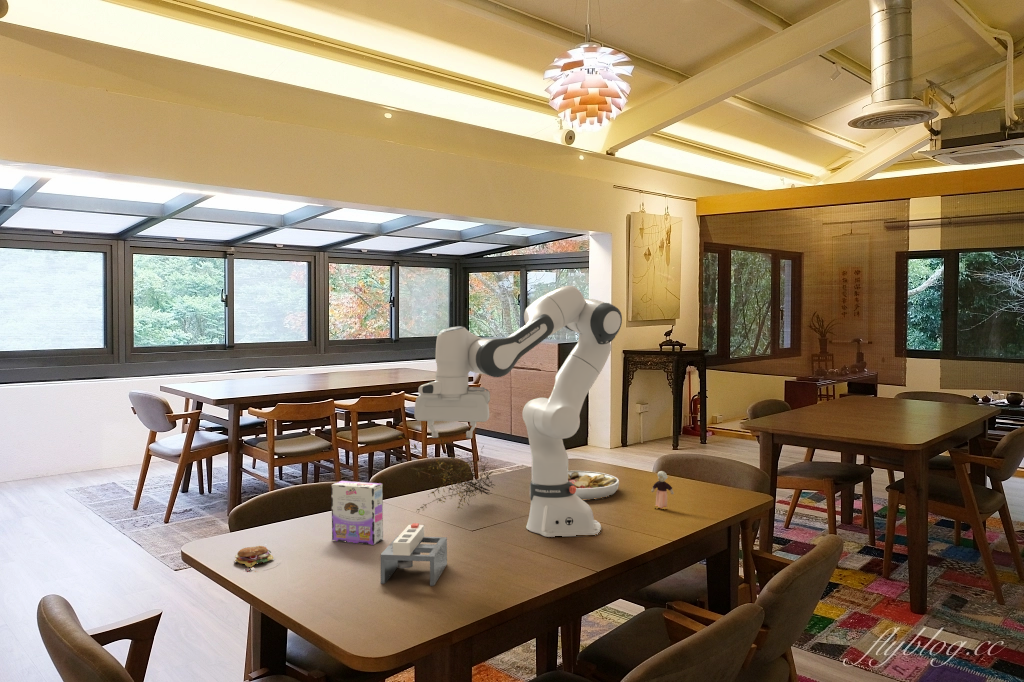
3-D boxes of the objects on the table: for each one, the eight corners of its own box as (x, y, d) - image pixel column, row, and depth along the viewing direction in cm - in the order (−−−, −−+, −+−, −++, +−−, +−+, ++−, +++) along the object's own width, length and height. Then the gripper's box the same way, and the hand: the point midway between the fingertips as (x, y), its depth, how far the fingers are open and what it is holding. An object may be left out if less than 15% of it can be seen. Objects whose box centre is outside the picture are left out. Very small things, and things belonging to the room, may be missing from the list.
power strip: (424, 550, 183) (424, 522, 183) (409, 571, 168) (409, 540, 168) (409, 550, 183) (409, 522, 183) (393, 570, 168) (392, 540, 168)
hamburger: (213, 567, 182) (212, 544, 182) (260, 553, 193) (260, 531, 193) (244, 578, 173) (244, 554, 173) (292, 563, 185) (292, 540, 185)
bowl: (564, 479, 282) (564, 460, 281) (633, 490, 264) (633, 469, 263) (520, 494, 257) (520, 473, 257) (592, 507, 240) (592, 484, 239)
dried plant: (476, 445, 258) (389, 404, 225) (542, 463, 237) (457, 422, 205) (446, 526, 250) (352, 497, 218) (512, 553, 230) (419, 524, 198)
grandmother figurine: (649, 509, 236) (649, 471, 236) (651, 506, 239) (651, 469, 239) (672, 511, 233) (673, 473, 233) (674, 508, 237) (675, 470, 236)
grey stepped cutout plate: (446, 564, 182) (446, 537, 182) (434, 585, 167) (434, 556, 167) (397, 562, 184) (397, 535, 184) (380, 583, 169) (380, 554, 169)
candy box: (384, 539, 203) (383, 482, 203) (373, 546, 198) (373, 487, 197) (342, 535, 208) (341, 479, 207) (330, 541, 202) (330, 483, 202)
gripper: (491, 386, 193) (491, 436, 194) (418, 385, 195) (418, 435, 196) (488, 388, 187) (488, 440, 187) (412, 387, 189) (412, 438, 190)
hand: (452, 437), depth 192 cm, fingers open, 8 cm apart
